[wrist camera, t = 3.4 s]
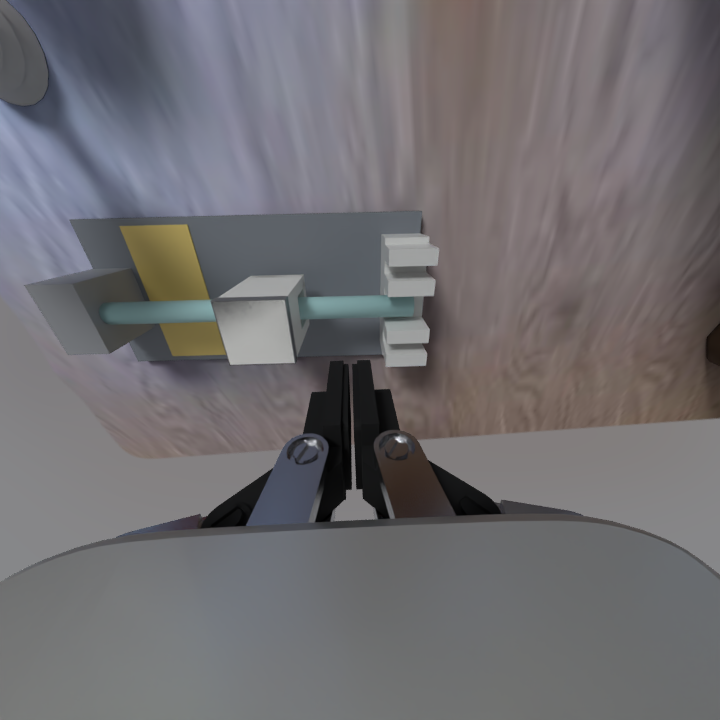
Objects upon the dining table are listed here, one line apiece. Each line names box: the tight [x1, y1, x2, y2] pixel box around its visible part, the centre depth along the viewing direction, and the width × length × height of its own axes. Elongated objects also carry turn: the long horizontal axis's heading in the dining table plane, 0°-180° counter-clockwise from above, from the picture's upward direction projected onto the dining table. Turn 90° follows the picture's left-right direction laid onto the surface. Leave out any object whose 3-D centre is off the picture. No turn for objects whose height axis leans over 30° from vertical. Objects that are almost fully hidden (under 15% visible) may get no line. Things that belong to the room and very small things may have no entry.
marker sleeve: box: [210, 274, 310, 365], centre depth 19 cm, size 4×4×6 cm
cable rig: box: [24, 211, 439, 367], centre depth 21 cm, size 26×12×6 cm, turn 91°
